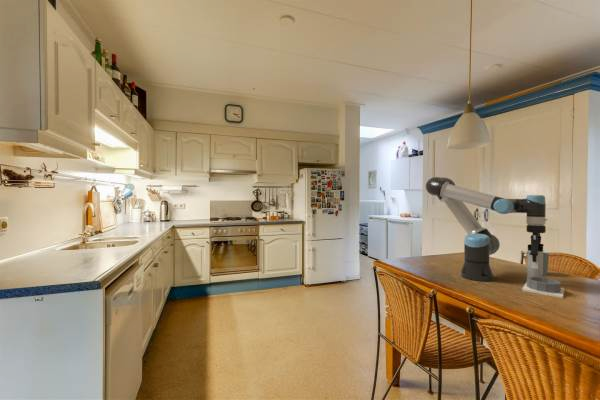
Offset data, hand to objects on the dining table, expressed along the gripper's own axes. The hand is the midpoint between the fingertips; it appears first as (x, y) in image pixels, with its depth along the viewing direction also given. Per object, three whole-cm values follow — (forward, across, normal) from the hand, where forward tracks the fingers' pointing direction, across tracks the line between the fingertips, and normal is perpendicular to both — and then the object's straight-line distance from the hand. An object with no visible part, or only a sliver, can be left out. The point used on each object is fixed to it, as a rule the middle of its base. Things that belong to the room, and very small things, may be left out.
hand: (535, 265), depth 145 cm
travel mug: (+9, 0, 0) cm, 9 cm away
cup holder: (+9, -14, -4) cm, 17 cm away
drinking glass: (+9, +23, +1) cm, 25 cm away
